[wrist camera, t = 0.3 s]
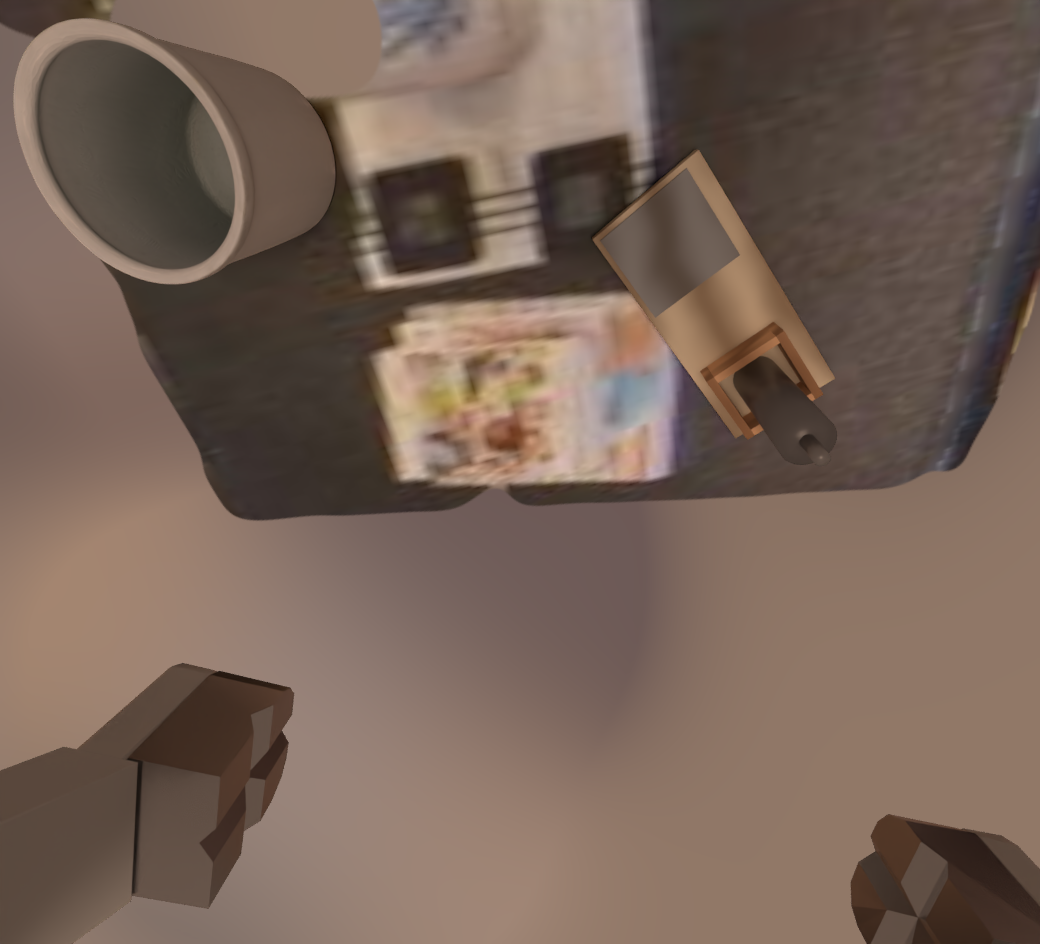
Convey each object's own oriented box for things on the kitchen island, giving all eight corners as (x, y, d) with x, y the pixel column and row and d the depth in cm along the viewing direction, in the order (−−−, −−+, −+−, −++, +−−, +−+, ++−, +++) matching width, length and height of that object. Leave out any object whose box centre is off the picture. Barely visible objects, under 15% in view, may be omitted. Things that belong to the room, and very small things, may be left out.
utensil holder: (223, 256, 55) (93, 299, 40) (149, 77, 47) (-44, 46, 32) (361, 233, 53) (279, 268, 38) (307, 41, 45) (178, -10, 30)
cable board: (695, 149, 47) (706, 150, 43) (828, 373, 56) (848, 389, 52) (591, 237, 51) (593, 244, 47) (732, 432, 60) (743, 451, 57)
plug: (765, 347, 54) (838, 422, 39) (786, 380, 55) (864, 464, 41) (724, 373, 56) (780, 455, 41) (746, 404, 57) (807, 493, 43)
